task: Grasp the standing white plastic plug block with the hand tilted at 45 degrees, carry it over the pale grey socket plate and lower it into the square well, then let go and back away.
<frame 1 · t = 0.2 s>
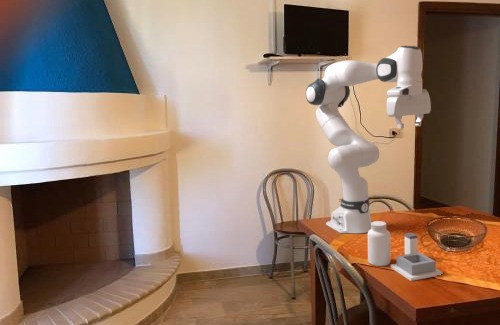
hand: (409, 127, 164), 47 cm above the table, tool pointing down, fingers open, 8 cm apart
socket: (415, 271, 150), on the table
plug: (411, 257, 161), on the table
pill bottle: (379, 263, 159), on the table
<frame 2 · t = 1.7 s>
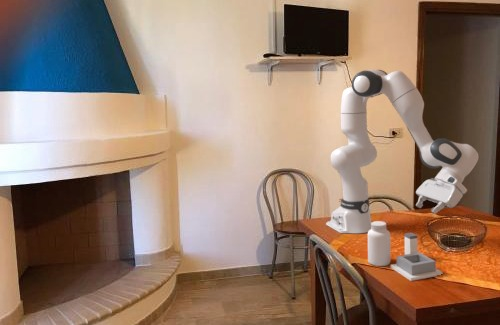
hand: (425, 209, 167), 15 cm above the table, tool tilted 45°, fingers open, 8 cm apart
nothing on the table moved.
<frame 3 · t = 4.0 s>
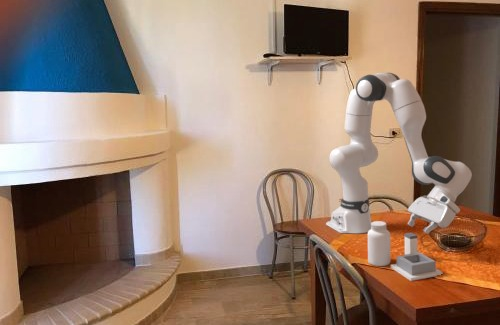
hand: (417, 228, 164), 10 cm above the table, tool tilted 45°, fingers open, 8 cm apart
nothing on the table moved.
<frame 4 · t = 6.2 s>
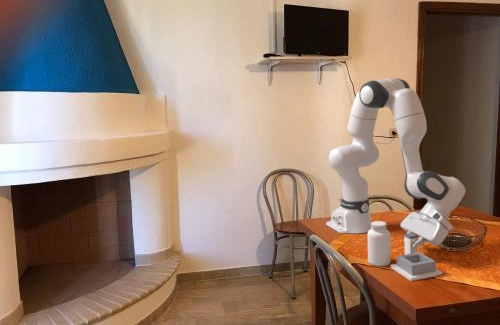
hand: (409, 245, 160), 5 cm above the table, tool tilted 45°, fingers closed on plug, 3 cm apart
plug: (411, 257, 161), on the table, touching gripper
everything else where it was.
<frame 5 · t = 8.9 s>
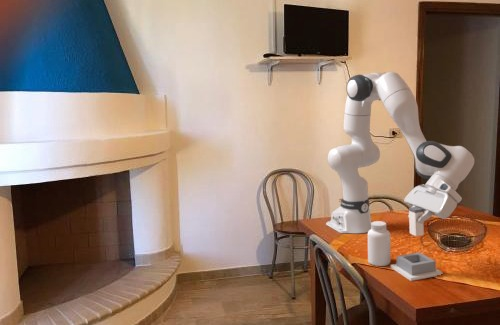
hand: (414, 220, 147), 18 cm above the table, tool tilted 45°, fingers closed on plug, 3 cm apart
plug: (416, 234, 148), point 13 cm above the table, touching gripper
everything else where it was.
when the fingers open (7 cm above the table, at t = 11.7 s): plug drops 1 cm, resting on socket.
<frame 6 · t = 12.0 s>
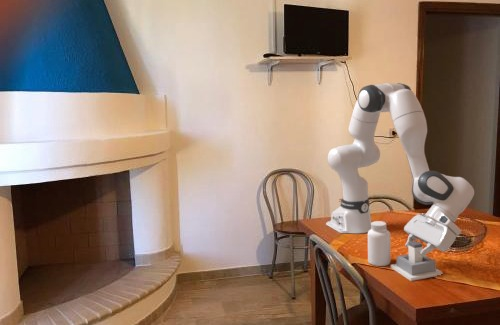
hand: (413, 251, 148), 7 cm above the table, tool tilted 45°, fingers open, 6 cm apart
plug: (415, 268, 150), point 1 cm above the table, touching socket
everything else where it was.
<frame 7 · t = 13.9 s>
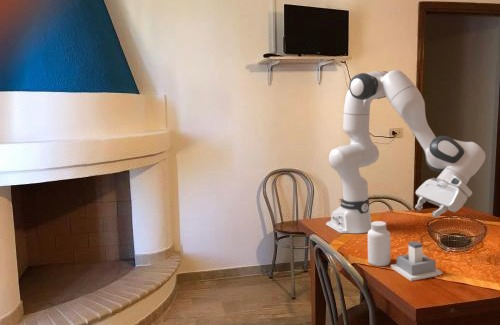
hand: (425, 212, 153), 19 cm above the table, tool tilted 45°, fingers open, 8 cm apart
nothing on the table moved.
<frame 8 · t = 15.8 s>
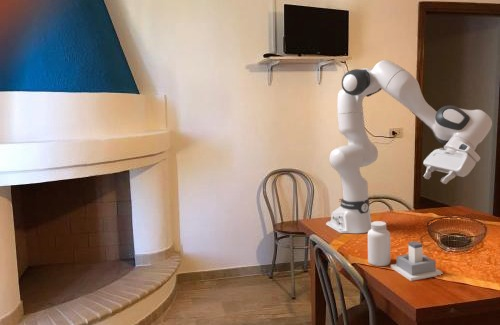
hand: (434, 180, 154), 29 cm above the table, tool tilted 45°, fingers open, 8 cm apart
nothing on the table moved.
at the end: plug 0.1 cm off-centre on the socket, point 1.0 cm above the socket's base; plug tilted 0°; the gripper is holding nothing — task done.
